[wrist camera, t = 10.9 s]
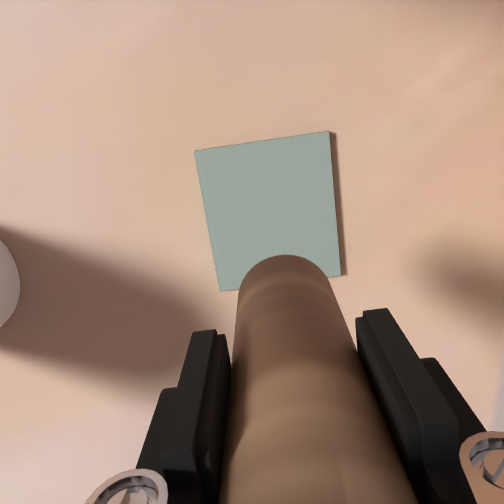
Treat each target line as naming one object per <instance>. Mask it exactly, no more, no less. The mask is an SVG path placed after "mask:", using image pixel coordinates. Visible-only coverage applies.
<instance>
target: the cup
mask: <svg viewBox="0 0 504 504" xmlns="http://www.w3.org/2000/svg"><path fill="white" fill-rule="evenodd" d="M19 296H20V277H19V272H18V269H17V266H16V263H15V261H14V259H13V257H12V255H11V253H10V251H9V250H8V248H7V247H6V245H5V244H4V243H3V242H2V240H1V239H0V327H1V326H2V325H3V324H4V323H5V322H6V321H7V320H8V319H9V318H10V317H11V315H12V314H13V312H14V311H15V309H16V306H17V304H18V301H19Z"/></svg>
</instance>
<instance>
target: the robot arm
mask: <svg viewBox="0 0 504 504" xmlns="http://www.w3.org/2000/svg"><path fill="white" fill-rule="evenodd" d="M355 325H356V338H357V351H358V355H359V357H360V360H361V362H362V365H363V367H364V370H365V372H366V375H367V377H368V379H369V382H370V384H371V387H372V389H373V392H374V394H375V397H376V399H377V402H378V404H379V407H380V409H381V412H382V414H383V416H384V419H385V421H386V424H387V426H388V429H389V431H390V434H391V436H392V439H393V441H394V444H395V446H396V449H397V451H398V454H399V456H400V458H401V461H402V463H403V466H404V468H405V471H406V473H407V476H408V478H409V481H410V483H411V485H412V487H413V490H414V492H415V495H416V497H417V499H418V502H419V504H504V432H496V431H489V432H487V431H486V429H485V428H484V426H483V425H482V424H481V422H480V421H479V419H478V418H477V416H476V415H475V414H474V412H473V411H472V409H471V408H470V406H469V405H468V404H467V402H466V401H465V399H464V398H463V397H462V395H461V394H460V392H459V391H458V389H457V388H456V387H455V385H454V384H453V382H452V381H451V379H450V378H449V377H448V375H447V374H446V372H445V371H444V369H443V368H442V367H441V365H440V364H439V362H438V361H437V360H436V359H435V358H432V357H431V358H422V359H420V358H419V357H418V355H417V354H416V352H415V351H414V349H413V347H412V346H411V344H410V343H409V341H408V340H407V338H406V337H405V335H404V333H403V332H402V330H401V329H400V327H399V326H398V324H397V322H396V321H395V319H394V318H393V316H392V315H391V313H390V311H389V310H388V309H387V308H382V309H374V310H366V311H363V317H358V318H356V319H355ZM230 377H231V363H230V357H229V352H228V346H227V341H226V337H225V334H220V335H218V334H217V331H216V329H213V330H205V331H197V332H193V333H192V337H191V340H190V344H189V347H188V351H187V354H186V358H185V361H184V365H183V368H182V372H181V375H180V379H179V383H178V386H177V387H174V388H166V389H163V390H162V392H161V394H160V397H159V400H158V403H157V406H156V409H155V412H154V415H153V418H152V421H151V424H150V427H149V430H148V433H147V436H146V439H145V442H144V445H143V448H142V451H141V454H140V457H139V460H138V463H137V466H136V469H132V470H129V471H125V472H122V473H119V474H117V475H115V476H114V477H112V478H110V479H108V480H106V481H105V482H104V483H103V484H102V485H100V486H99V487H98V488H97V489H96V490H95V491H94V492H93V493H92V495H91V496H90V497H89V498H88V499H87V501H86V503H85V504H218V498H219V488H220V478H221V468H222V457H223V447H224V437H225V427H226V417H227V407H228V397H229V387H230Z"/></svg>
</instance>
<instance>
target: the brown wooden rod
mask: <svg viewBox="0 0 504 504" xmlns="http://www.w3.org/2000/svg"><path fill="white" fill-rule="evenodd" d="M218 504H419V502H418V499H417V497H416V495H415V492H414V490H413V487H412V485H411V483H410V481H409V478H408V476H407V473H406V471H405V468H404V466H403V463H402V461H401V458H400V456H399V454H398V451H397V449H396V446H395V444H394V441H393V439H392V436H391V434H390V431H389V429H388V426H387V424H386V421H385V419H384V416H383V414H382V412H381V409H380V407H379V404H378V402H377V399H376V397H375V394H374V392H373V389H372V387H371V384H370V382H369V379H368V377H367V375H366V372H365V370H364V367H363V365H362V362H361V360H360V357H359V355H358V352H357V349H356V347H355V344H354V342H353V339H352V337H351V334H350V332H349V330H348V327H347V325H346V322H345V320H344V317H343V315H342V312H341V310H340V307H339V305H338V302H337V300H336V298H335V295H334V293H333V290H332V288H331V285H330V283H329V281H328V279H327V277H326V275H325V274H324V272H323V271H322V270H321V269H320V268H319V267H318V266H317V265H316V264H314V263H313V262H311V261H310V260H308V259H305V258H303V257H300V256H295V255H277V256H272V257H269V258H266V259H264V260H262V261H260V262H259V263H257V264H256V265H255V266H253V267H252V268H251V269H250V270H249V271H248V273H247V274H246V275H245V277H244V279H243V281H242V283H241V285H240V289H239V294H238V304H237V314H236V324H235V334H234V344H233V354H232V364H231V377H230V387H229V397H228V407H227V417H226V427H225V437H224V447H223V457H222V468H221V478H220V488H219V498H218Z"/></svg>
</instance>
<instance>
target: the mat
mask: <svg viewBox="0 0 504 504" xmlns="http://www.w3.org/2000/svg"><path fill="white" fill-rule="evenodd" d="M194 155H195V160H196V166H197V171H198V176H199V182H200V187H201V193H202V198H203V204H204V209H205V214H206V220H207V225H208V231H209V236H210V241H211V247H212V252H213V258H214V263H215V269H216V274H217V279H218V285H219V290H220V291H226V290H234V289H240V285H241V283H242V281H243V279H244V277H245V275H246V274H247V273H248V271H249V270H250V269H251V268H252V267H253V266H255V265H256V264H257V263H259V262H260V261H262V260H264V259H266V258H269V257H272V256H277V255H295V256H300V257H303V258H305V259H308V260H310V261H311V262H313V263H314V264H316V265H317V266H318V267H319V268H320V269H321V270H322V271H323V272H324V274H325V275H326V277H334V276H341V270H340V258H339V246H338V234H337V222H336V211H335V199H334V187H333V175H332V163H331V151H330V139H329V131H325V132H318V133H311V134H305V135H298V136H291V137H284V138H277V139H271V140H264V141H257V142H250V143H244V144H237V145H230V146H223V147H217V148H210V149H203V150H196V151H194Z"/></svg>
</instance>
